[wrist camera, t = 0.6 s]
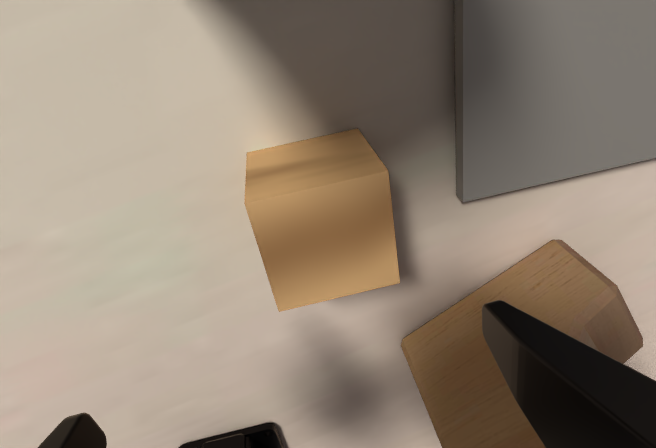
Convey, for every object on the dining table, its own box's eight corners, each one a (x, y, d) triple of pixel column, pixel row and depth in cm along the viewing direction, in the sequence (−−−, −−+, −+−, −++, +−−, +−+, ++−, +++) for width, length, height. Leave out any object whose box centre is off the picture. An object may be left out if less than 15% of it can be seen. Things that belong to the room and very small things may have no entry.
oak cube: (370, 222, 21) (399, 283, 17) (273, 244, 21) (278, 311, 16) (357, 127, 18) (388, 171, 14) (247, 151, 18) (244, 203, 14)
